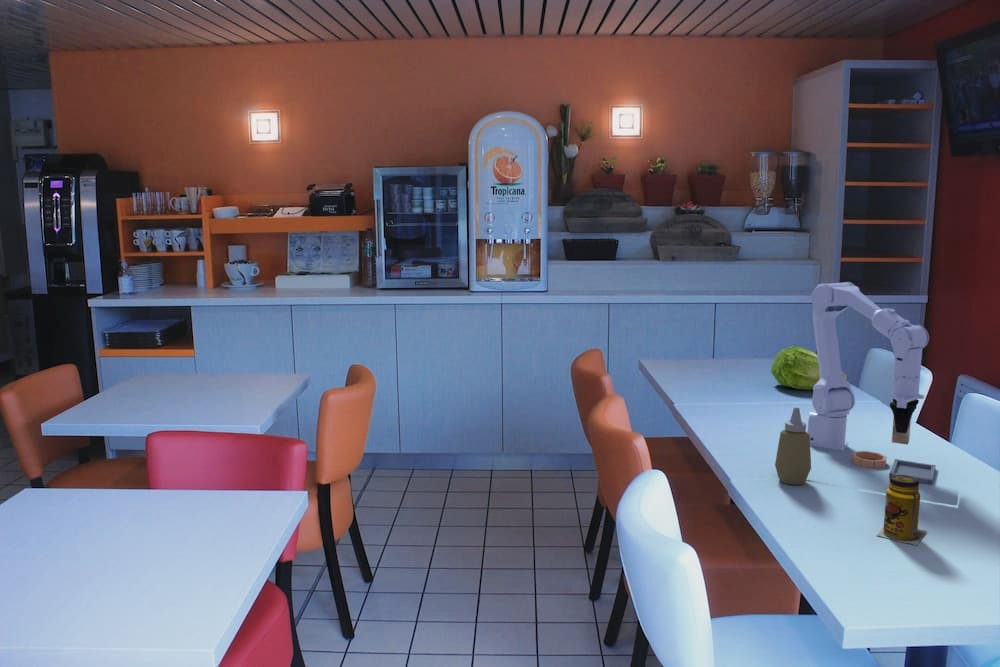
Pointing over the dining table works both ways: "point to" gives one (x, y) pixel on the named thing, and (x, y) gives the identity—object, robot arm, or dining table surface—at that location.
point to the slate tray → (914, 470)
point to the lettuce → (797, 368)
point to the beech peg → (900, 435)
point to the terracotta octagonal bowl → (869, 459)
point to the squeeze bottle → (794, 451)
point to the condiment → (902, 510)
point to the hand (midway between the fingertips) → (902, 430)
